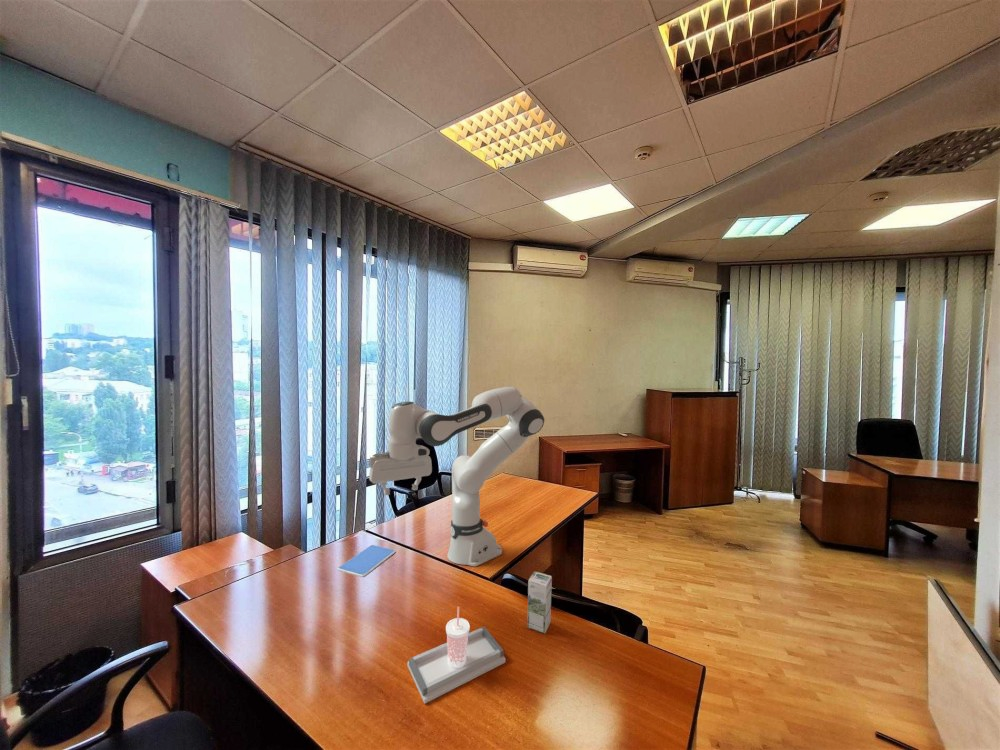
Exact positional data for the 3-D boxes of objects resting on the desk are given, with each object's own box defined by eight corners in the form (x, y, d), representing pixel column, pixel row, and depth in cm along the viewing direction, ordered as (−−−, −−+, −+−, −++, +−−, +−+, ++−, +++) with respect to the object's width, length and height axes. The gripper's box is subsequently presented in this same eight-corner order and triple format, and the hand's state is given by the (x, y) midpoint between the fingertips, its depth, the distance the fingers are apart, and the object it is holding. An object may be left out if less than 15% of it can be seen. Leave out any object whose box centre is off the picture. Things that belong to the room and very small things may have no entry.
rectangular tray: (482, 632, 103) (482, 624, 103) (505, 662, 93) (505, 652, 93) (407, 665, 91) (407, 656, 91) (424, 703, 81) (424, 693, 81)
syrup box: (551, 622, 108) (552, 574, 108) (545, 635, 103) (546, 585, 102) (533, 616, 110) (534, 569, 110) (526, 628, 105) (527, 580, 105)
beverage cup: (472, 665, 90) (473, 611, 90) (449, 674, 88) (450, 618, 87) (464, 648, 96) (465, 596, 95) (442, 655, 93) (443, 602, 93)
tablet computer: (363, 579, 128) (363, 575, 128) (335, 571, 132) (335, 567, 132) (396, 553, 146) (396, 550, 146) (371, 547, 150) (371, 544, 150)
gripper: (371, 456, 110) (371, 500, 111) (434, 449, 122) (433, 489, 122) (367, 452, 116) (366, 494, 116) (427, 445, 127) (426, 484, 127)
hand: (401, 492), depth 119 cm, fingers open, 8 cm apart
